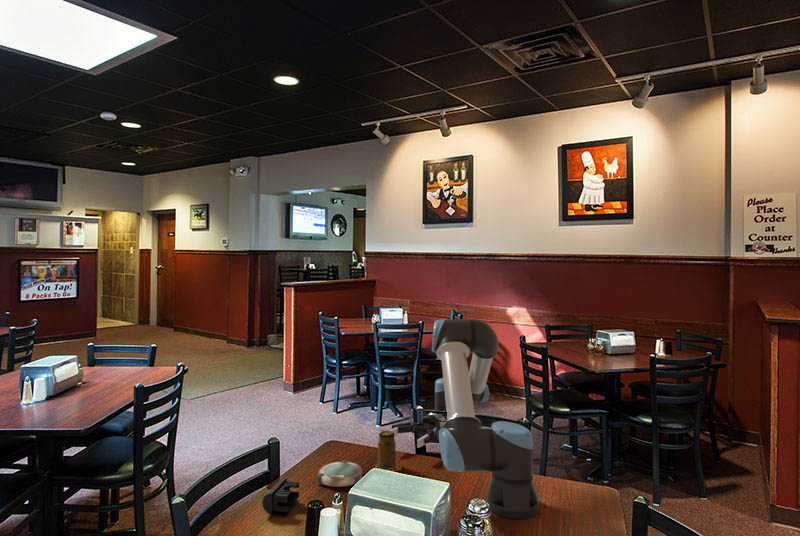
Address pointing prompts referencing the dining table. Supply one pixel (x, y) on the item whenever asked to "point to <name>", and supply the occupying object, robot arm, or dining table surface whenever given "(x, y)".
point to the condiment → (386, 450)
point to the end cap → (281, 498)
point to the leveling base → (339, 474)
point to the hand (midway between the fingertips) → (402, 439)
